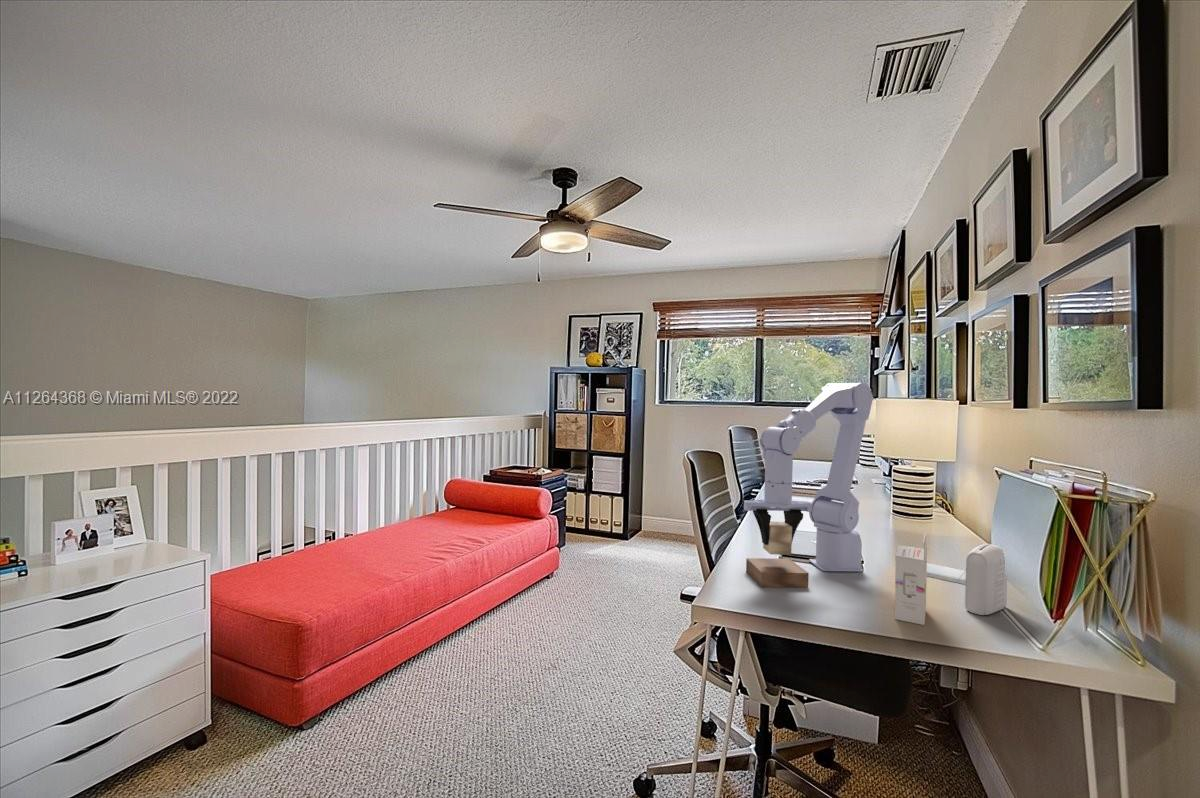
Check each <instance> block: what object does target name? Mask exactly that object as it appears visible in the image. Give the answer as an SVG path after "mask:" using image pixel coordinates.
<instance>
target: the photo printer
mask: <svg viewBox="0 0 1200 798" xmlns="http://www.w3.org/2000/svg"><path fill="white" fill-rule="evenodd" d="M1002 548H1003V547H1001V546H999V545H997V544H992V543H983V544H980V545H978V546H975V547H974V548H973V549H972V550H970V551H969V552H968V554H967V555H966V559H965V571H966V582H965V583H966V584H964V587H965V588H964V608H965V609H966V610H967V611H968V612H970V613H972V614H974V615H975V614H976V615H979V616H988V615H991V614H994V613H996V612H998V611H999V612H1000V611H1002V610H1003V609H1005V608H1006V607H1007V604H1008V577H1007V578H1006V574H1005V557H1004V553H1003V550H1002ZM1004 607H1005V608H1004Z"/></svg>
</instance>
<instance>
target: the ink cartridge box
mask: <svg viewBox="0 0 1200 798" xmlns="http://www.w3.org/2000/svg"><path fill="white" fill-rule="evenodd" d="M923 535H924V536H923V544H922V545H923V548H919V547H913V546H906V545H897V548H896V552H895V555H894V556H895V558H894V559H895V571H894V572H895V585H894V586H895V595H894V596H895V599H894V603H895V604H894V619H895V620H896V621H897V620H898V621H903V622H906V623H911V624H915V625H916V624H917V625H921V626H925V625H926V606H927V582H928V581H927V577H928V576H927V563H928V545H927V535H926V533H924V534H923Z"/></svg>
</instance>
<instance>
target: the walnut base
mask: <svg viewBox="0 0 1200 798" xmlns="http://www.w3.org/2000/svg"><path fill="white" fill-rule="evenodd" d="M745 562H746V563H745V564H746V565H745V570H746V573H747V574H748V575H749V576H750V577H751V578H752V579H753V580H754V581H755V582H756V583H757V584H758V586H760V587H761V588H809V577H810V576H809V574H810V573H809V572H808V571H806V570H805V569H804V568H802V566H800V565H799V564H797V563H796V562H795V561H793V560H792V559H791V558H765V557H764V558H755V557H753V558H749V557H747V558H746V560H745Z"/></svg>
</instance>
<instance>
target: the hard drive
mask: <svg viewBox="0 0 1200 798" xmlns="http://www.w3.org/2000/svg"><path fill="white" fill-rule="evenodd" d="M927 577H929V578H934V579H938V580H941V581H946V582H947V581H948V582H953V583H956V584H957V583H958V584H961V585H965V584H966V583H965V582H966V570H962V569H957V568H952V567H948V566H944V565H938V564H933V563H928V562H927Z"/></svg>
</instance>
